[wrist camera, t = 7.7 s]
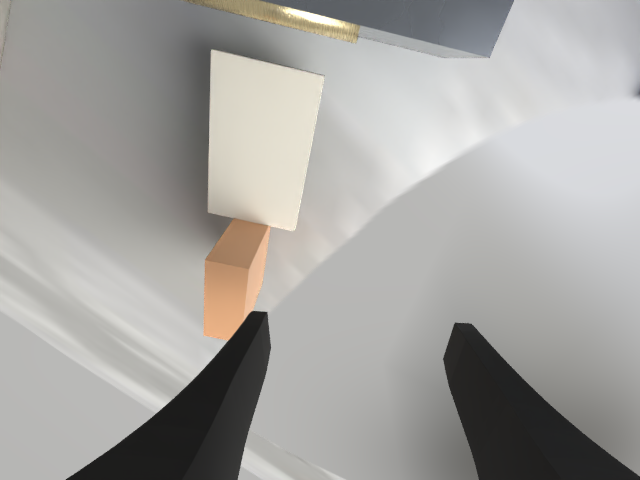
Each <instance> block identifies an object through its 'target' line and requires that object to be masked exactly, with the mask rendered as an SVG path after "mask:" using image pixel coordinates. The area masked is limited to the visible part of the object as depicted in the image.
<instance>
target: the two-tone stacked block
mask: <svg viewBox="0 0 640 480" xmlns="http://www.w3.org/2000/svg"><path fill="white" fill-rule="evenodd" d="M324 78H325V75H321V74H316V73H312V72H308V71H304V70H300V69H296V68H292V67H287V66H283V65H279V64H275V63H271V62H267V61H263V60H258V59H254V58H250V57H246V56H242V55H238V54H233V53H229V52H225V51H221V50H215V49H211V72H210V119H209V167H208V213H212V214H217V215H221V216H226V217H230V218H234V219H233V220H232V222H231V223H230V225H229V226H228V227H227V229H226V230H225V232H224V233H223V235H222V236H221V238H220V239H219V240H218V242H217V243H216V245H215V246H214V248H213V249H212V251H211V252H210V253H209V255H208V256H207V258H206V259H205V288H204V336H209V337H214V338H219V339H224V340H229V339H230V338H231V337H232V336H233V334H234V333H235V332H236V331H237V329H238V328H239V327H240V325H241V324H242V323H243V321H244V320H245V319H246V317H247V316H248V314H249V313H250V312H251V311H253V308H254V305H255V303H256V300H257V297H258V294H259V292H260V289H261V286H262V283H263V276H264V269H265V262H266V255H267V248H268V241H269V234H270V226H272V227H277V228H281V229H286V230H291V231H295V228H296V224H297V219H298V214H299V208H300V203H301V198H302V193H303V188H304V182H305V177H306V172H307V167H308V162H309V156H310V151H311V146H312V141H313V136H314V130H315V125H316V120H317V115H318V109H319V104H320V99H321V94H322V89H323V83H324Z"/></svg>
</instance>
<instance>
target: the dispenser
mask: <svg viewBox="0 0 640 480" xmlns="http://www.w3.org/2000/svg"><path fill="white" fill-rule="evenodd" d="M181 1H185V2H189V3H193V4H197V5H201V6H205V7H209V8H214V9H218V10H222V11H226V12H230V13H234V14H238V15H242V16H246V17H250V18H254V19H258V20H262V21H266V22H270V23H274V24H278V25H282V26H286V27H290V28H294V29H299V30H303V31H307V32H311V33H315V34H319V35H323V36H327V37H331V38H335V39H339V40H343V41H347V42H351V43H355V44H356V42H357V38H358V37H362V38H366V39H370V40H374V41H378V42H382V43H386V44H390V45H394V46H398V47H402V48H406V49H410V50H414V51H418V52H423V53H427V54H431V55H435V56H439V57H443V58H490V55H491V53H492V51H493V48H494V46H495V44H496V41H497V39H498V37H499V34H500V32H501V30H502V27H503V25H504V23H505V20H506V18H507V16H508V13H509V11H510V8H511V6H512V4H513V1H514V0H181Z"/></svg>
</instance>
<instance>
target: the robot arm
mask: <svg viewBox="0 0 640 480" xmlns="http://www.w3.org/2000/svg"><path fill="white" fill-rule="evenodd" d="M270 350H271V344H270V334H269V325H268V315H267V312H260V311H251V312H250V313H249V314H248V316H247V317H246V319H245V320H244V321H243V323H242V324H241V325H240V327H239V328H238V329H237V331H236V332H235V333H234V334H233V336H232V337H231V338H230V339H229V341H228V342H227V343H226V344H225V345H224V347H223V348H222V349H221V350H220V351H219V353H218V354H217V355H216V356H215V357H214V358H213V359H212V360H211V362H210V363H209V364H208V365H207V366H206V367H205V368H204V369H203V370H202V371H201V372H200V373H199V375H198V376H197V377H196V378H195V379H194V380H193V381H192V382H191V383H190V384H189V385H188V386H187V387H185V388H184V389H183V390H182V391H181V392H180V393H179V394H178V395H177V396H176V397H175V398H174V399H173V400H171V401H170V402H169V403H168V404H167V405H166V406H165V407H163V408H162V409H161V410H160V411H159V412H158V413H157V414H155V415H154V416H153V417H152V418H151V419H149V420H148V421H147V422H146V423H144V424H143V425H142V426H141V427H139V428H138V429H137V430H135V431H134V432H133V433H131V434H130V435H129V436H127V437H126V438H125V439H123V440H122V441H121V442H120V443H118V444H117V445H116V446H115V447H113V448H111V449H110V450H109V451H107V452H106V453H104V454H103V455H102V456H100V457H98V458H97V459H96V460H94V461H93V462H91V463H90V464H88V465H87V466H85V467H84V468H82V469H81V470H80V471H78V472H77V473H75V474H74V475H72V476H70V477H69V478H67V479H66V480H238V475H239V470H240V465H241V461H242V456H243V451H244V447H245V442H246V439H247V435H248V431H249V428H250V425H251V421H252V418H253V415H254V412H255V408H256V405H257V402H258V398H259V395H260V392H261V389H262V385H263V382H264V379H265V375H266V371H267V366H268V361H269V355H270ZM443 360H444V365H445V370H446V375H447V379H448V384H449V387H450V391H451V394H452V396H453V399H454V402H455V405H456V408H457V411H458V414H459V417H460V420H461V423H462V425H463V428H464V431H465V434H466V437H467V440H468V443H469V446H470V449H471V452H472V455H473V458H474V462H475V465H476V469H477V473H478V477H479V480H640V476H638V475H637V474H636V473H634V472H633V471H631V470H630V469H629V468H627V467H626V466H625V465H623V464H622V463H621V462H619V461H618V460H617V459H615V458H614V457H612V456H611V455H610V454H609V453H608V452H606V451H605V450H604V449H602V448H601V447H600V446H598V445H597V444H596V443H595V442H593V441H592V440H591V439H589V438H588V437H587V436H586V435H585V434H583V433H582V432H581V431H580V430H579V429H577V428H576V427H575V426H574V425H572V423H570V422H569V421H568V420H567V419H566V418H564V417H563V416H562V415H561V414H560V413H559V412H557V411H556V410H555V409H554V408H553V407H552V406H551V405H550V404H548V402H546V401H545V400H544V399H543V398H542V397H541V396H540V395H539V394H538V393H537V392H536V391H535V390H534V389H533V388H532V387H531V386H530V385H529V384H528V383H527V382H526V381H524V379H522V377H521V376H520V375H519V374H517V372H516V371H515V370H514V369H513V368H512V367H511V366H510V365H509V364H508V363H507V362H506V361H505V360H504V359H503V358H502V357H501V356H500V354H498V353H497V351H496V350H495V349H494V348H493V347H492V346H491V345H490V344H489V343H488V342H487V340H486V339H485V338H484V337H483V336H482V335H481V334H480V333H479V332H478V330H477V329H476V328H475V327H474V326H473V325H472V324H469V323H455V324H454V327H453V330H452V333H451V336H450V339H449V342H448V346H447V349H446V352H445V355H444V358H443Z"/></svg>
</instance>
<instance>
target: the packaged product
mask: <svg viewBox="0 0 640 480" xmlns="http://www.w3.org/2000/svg"><path fill="white" fill-rule="evenodd" d="M10 5H11V0H0V68H1V62H2V56H3V49H4V43H5V37H6V30H7V24H8V18H9V11H10Z"/></svg>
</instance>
